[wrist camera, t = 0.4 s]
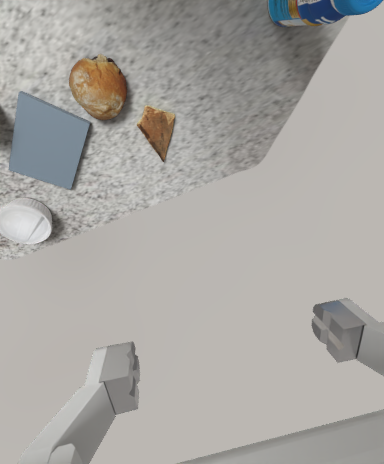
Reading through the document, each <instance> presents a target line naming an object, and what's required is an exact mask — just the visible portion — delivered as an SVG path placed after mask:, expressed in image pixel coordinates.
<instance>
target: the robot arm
mask: <svg viewBox="0 0 384 464" xmlns="http://www.w3.org/2000/svg"><path fill="white" fill-rule="evenodd" d="M313 312H314V314H315V316H314V318H313V319H312V328H313V332H314V334H315V336H316V337H317V338H318V339H319V341H321V342H323V343H324V344H326V345H327V350H328V352H329V353H330V354H331V355H332V356H333V357H334V359H335V360H336V361H337V362H343V361H348V360H353V359H357V360H358V361H360V362H361V363H363V364H364V365H366V366H368V367H370V368H371V369H373V370H374V371H376V372H378V373H379V374H381V375H383V376H384V322H378V321H377V320H375V319H374V318H373V317H371V316H370V315H369V314H368V313H367V312H365V311H364V310H363V309H362V308H360V307H359V306H358V305H357V304H355V303H354V302H353V301H352V300H350V299H348V298H344V299H340V300H336V301H330V302H325V303H321V304H316V305H315V306H314V307H313ZM139 369H140V368H139V360H138V356H136V355H135V345H134V342H128V343H122V344H116V345H111V346H107V347H101V348H96V350H95V351H94V353H93V356H92V360H91V363H90V367H89V371H88V374H87V378H86V381H85V385H84V386H83V387H80V388H79V389H78V390H77V391H76V393H75V394H74V395H73V396H72V397H71V398H70V399H69V401H68V402H67V403H66V404H65V405H64V406H63V408H62V409H61V410H60V411H59V412H58V413H57V414H56V415H55V417H54V418H53V419H52V420H51V421H50V422H49V424H48V425H47V426H46V427H45V428H44V429H43V430H42V432H41V433H40V434H39V435H38V436H37V437H36V438H35V439H34V441H33V442H32V443H31V444H30V445H29V446H28V447H27V449H26V450H25V451H24V452H23V453H22V455H21V457H20V460H19V462H18V464H89V463H90V461H91V459H92V458H93V456H94V454H95V452H96V450H97V449H98V447H99V445H100V443H101V442H102V440H103V438H104V436H105V434H106V433H107V431H108V429H109V427H110V425H111V424H112V422H113V420H114V418H115V417H116V416H115V415H116V414H121V413H124V412H128V411H132V410H136V409H138V399H139V390H138V386H137V384H138V382H139V381H140V370H139ZM177 464H384V409H383V410H380V411H376V412H372V413H368V414H364V415H361V416H357V417H353V418H349V419H345V420H342V421H337V422H334V423H330V424H326V425H322V426H318V427H314V428H311V429H307V430H303V431H299V432H295V433H292V434H288V435H284V436H280V437H277V438H272V439H269V440H265V441H261V442H257V443H253V444H250V445H246V446H242V447H238V448H234V449H231V450H227V451H223V452H219V453H216V454H211V455H208V456H204V457H200V458H196V459H193V460H188V461H185V462H181V463H177Z"/></svg>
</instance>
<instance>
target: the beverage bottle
mask: <svg viewBox="0 0 384 464" xmlns="http://www.w3.org/2000/svg"><path fill="white" fill-rule="evenodd" d="M382 1H383V0H268V11H269V15H270V17H271V19H272V21H273V22H274V23H275V24H276V25H278V26H281V27H289V26H302V25H309V26H319V25H322V24H331V23H334V22H336V21H338V20H340V19H341V18H343V17H344V16H346V15H360V14H364V13H367V12H369V11H371V10H373V9H374V8H376V7H377V6H378V5H379V4H380V3H381V2H382Z"/></svg>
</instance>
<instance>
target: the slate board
mask: <svg viewBox="0 0 384 464" xmlns="http://www.w3.org/2000/svg"><path fill="white" fill-rule="evenodd" d="M89 125H90V122H89V121H87V120H85V119H83V118H81V117H78V116H76V115H74V114H72V113H69V112H67V111H65V110H63V109H61V108H58V107H56V106H54V105H52V104H49V103H47V102H45V101H43V100H41V99H38V98H36V97H34V96H32V95H29V94H27V93H25V92H23V91H20V92H19V95H18V102H17V110H16V118H15V125H14V133H13V140H12V148H11V156H10V163H9V170H10V171H13V172H16V173H19V174H22V175H26V176H29V177H32V178H35V179H38V180H42V181H45V182H48V183H51V184H54V185H58V186H61V187H64V188H67V189H70V190H71V187H72V184H73V181H74V177H75V174H76V170H77V167H78V163H79V160H80V156H81V153H82V149H83V146H84V142H85V139H86V135H87V132H88V129H89Z"/></svg>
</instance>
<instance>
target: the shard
mask: <svg viewBox="0 0 384 464" xmlns="http://www.w3.org/2000/svg"><path fill="white" fill-rule="evenodd" d="M174 118H175V114H174V113H170V112H166V111H163V110H159V109H157V108H155V107H151V106H145V108H144V113H143V116H142V119H141V120H140V121H139V122H138V123H137V126H138V127H139V128H140V130H141V131H142V133H143V134H144V135H145V137H146V138H147V140H148V141H149V143H150V144H151V145H152V147H153V148H154V150H155V151H156V152H157V153H158V155H159V156H160V158H161V160H162V161H163V162H164V160H165V156H166V151H167V147H168V144H169V141H170V137H171V134H172V130H173V121H174Z"/></svg>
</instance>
